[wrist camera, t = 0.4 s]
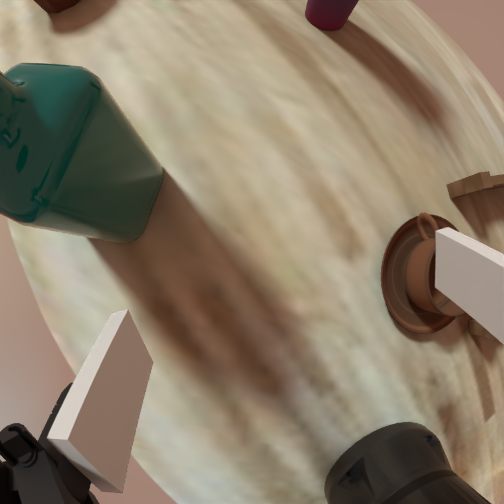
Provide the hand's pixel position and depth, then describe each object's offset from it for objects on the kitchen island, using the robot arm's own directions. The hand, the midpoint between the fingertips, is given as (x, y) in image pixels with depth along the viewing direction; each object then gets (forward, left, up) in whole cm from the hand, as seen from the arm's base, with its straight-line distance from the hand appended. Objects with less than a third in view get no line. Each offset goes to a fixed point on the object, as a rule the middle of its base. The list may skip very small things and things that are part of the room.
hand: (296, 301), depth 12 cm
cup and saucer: (-3, -17, -16) cm, 24 cm away
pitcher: (+11, +12, -16) cm, 23 cm away
